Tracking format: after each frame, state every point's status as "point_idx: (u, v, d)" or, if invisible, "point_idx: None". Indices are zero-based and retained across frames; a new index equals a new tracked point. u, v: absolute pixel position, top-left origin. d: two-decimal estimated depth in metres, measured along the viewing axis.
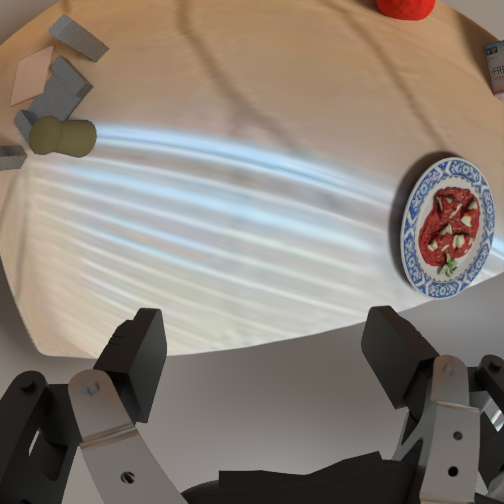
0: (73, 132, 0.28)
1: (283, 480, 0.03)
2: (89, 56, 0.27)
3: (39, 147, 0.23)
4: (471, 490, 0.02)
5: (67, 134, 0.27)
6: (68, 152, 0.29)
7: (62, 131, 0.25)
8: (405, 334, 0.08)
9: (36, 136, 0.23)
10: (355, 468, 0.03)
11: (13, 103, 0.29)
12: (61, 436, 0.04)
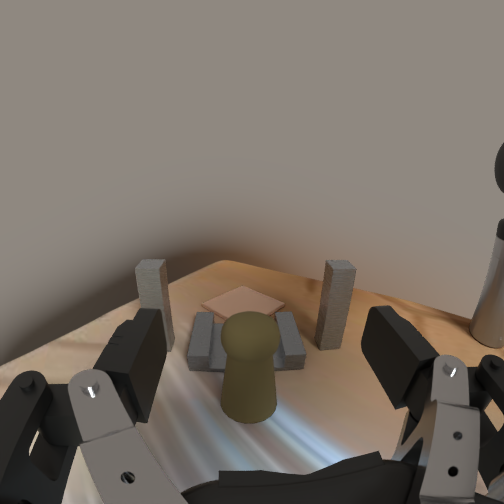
0: (269, 376, 0.23)
1: (283, 480, 0.03)
2: (324, 335, 0.34)
3: (240, 332, 0.21)
4: (471, 490, 0.02)
5: (266, 368, 0.23)
6: (238, 390, 0.23)
7: (273, 354, 0.22)
8: (405, 334, 0.08)
9: (247, 320, 0.22)
10: (355, 468, 0.03)
11: (207, 304, 0.45)
12: (61, 436, 0.04)
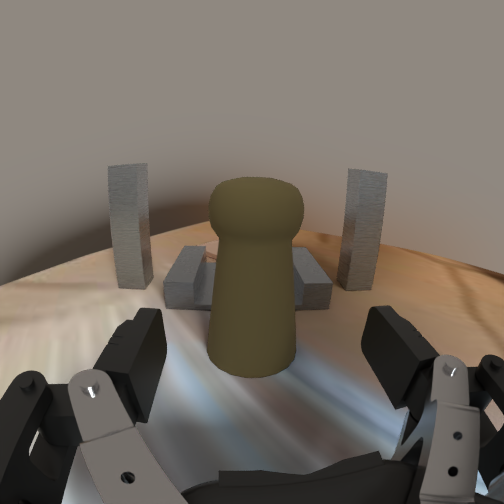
0: (288, 283, 0.15)
1: (283, 479, 0.03)
2: (352, 266, 0.26)
3: (239, 183, 0.13)
4: (471, 490, 0.02)
5: (283, 262, 0.14)
6: (235, 306, 0.14)
7: (294, 231, 0.14)
8: (405, 334, 0.08)
9: (252, 177, 0.14)
10: (355, 468, 0.03)
11: None
12: (61, 436, 0.04)
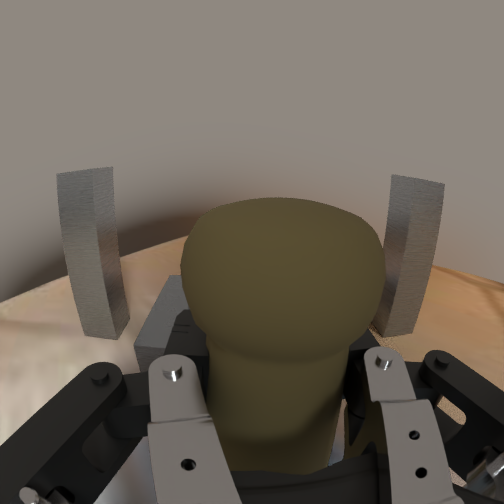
0: (337, 402, 0.07)
1: (283, 480, 0.03)
2: (394, 308, 0.18)
3: (252, 223, 0.05)
4: (448, 485, 0.02)
5: (337, 378, 0.06)
6: (242, 446, 0.06)
7: (368, 325, 0.06)
8: None
9: (277, 201, 0.06)
10: (355, 468, 0.03)
11: None
12: (133, 427, 0.05)
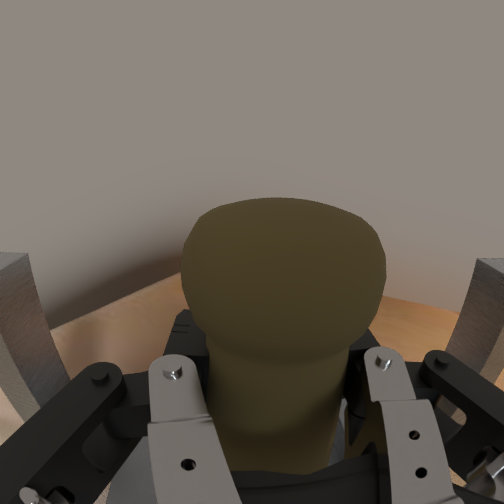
0: (338, 402, 0.07)
1: (283, 479, 0.03)
2: None
3: (253, 224, 0.05)
4: (448, 485, 0.02)
5: (337, 378, 0.06)
6: (242, 447, 0.06)
7: (368, 325, 0.06)
8: None
9: (277, 202, 0.06)
10: (355, 468, 0.03)
11: None
12: (133, 427, 0.05)
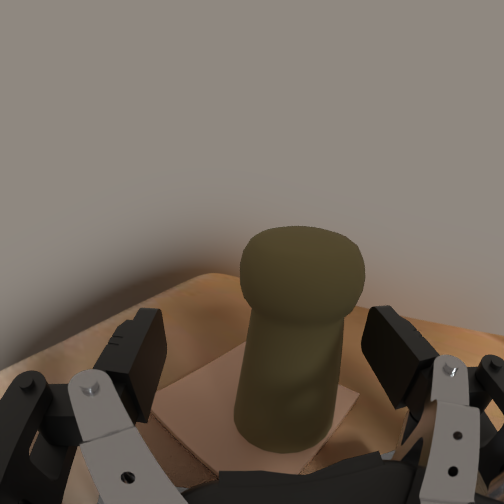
0: (337, 361, 0.11)
1: (283, 479, 0.03)
2: None
3: (288, 247, 0.09)
4: (471, 490, 0.02)
5: (336, 342, 0.11)
6: (274, 393, 0.11)
7: (354, 306, 0.10)
8: (405, 334, 0.08)
9: (299, 231, 0.11)
10: (355, 468, 0.03)
11: (156, 407, 0.14)
12: (61, 436, 0.04)
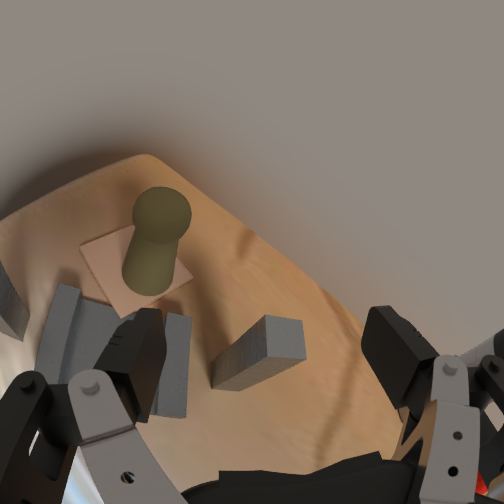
0: (169, 258, 0.25)
1: (283, 480, 0.03)
2: (222, 384, 0.23)
3: (150, 210, 0.20)
4: (471, 490, 0.02)
5: (167, 250, 0.24)
6: (137, 262, 0.24)
7: (176, 239, 0.23)
8: (405, 334, 0.08)
9: (162, 199, 0.21)
10: (355, 468, 0.03)
11: (85, 253, 0.26)
12: (61, 436, 0.04)
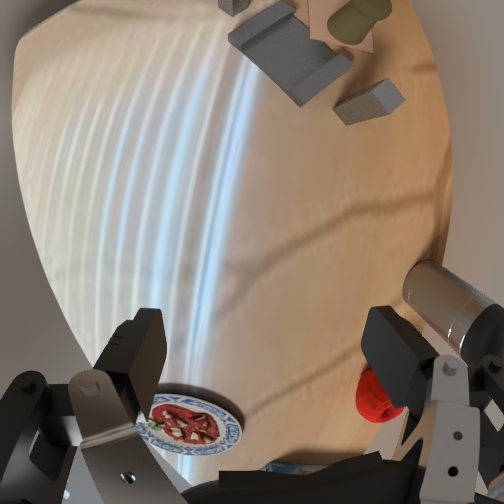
0: (362, 27, 0.23)
1: (283, 480, 0.03)
2: (339, 107, 0.30)
3: None
4: (471, 490, 0.02)
5: (364, 21, 0.22)
6: (341, 16, 0.24)
7: (372, 19, 0.20)
8: (405, 334, 0.08)
9: None
10: (355, 468, 0.03)
11: None
12: (61, 436, 0.04)
